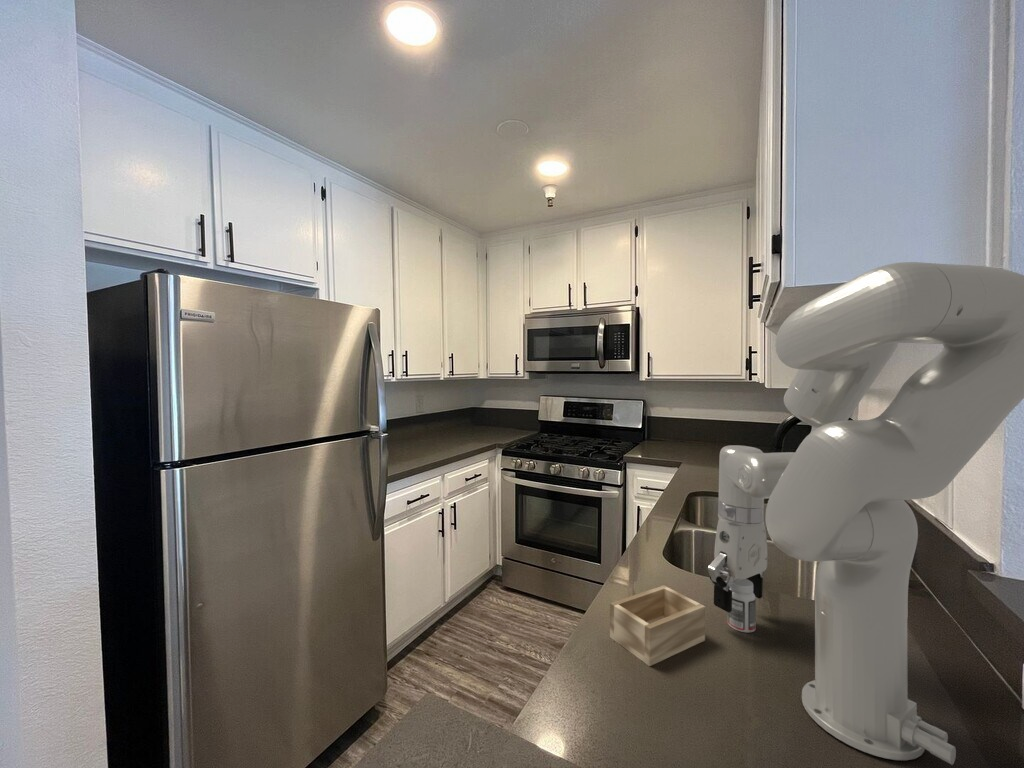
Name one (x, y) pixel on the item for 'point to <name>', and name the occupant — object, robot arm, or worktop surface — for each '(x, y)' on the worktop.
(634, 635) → the open wooden box
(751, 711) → the worktop surface
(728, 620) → the pill bottle
